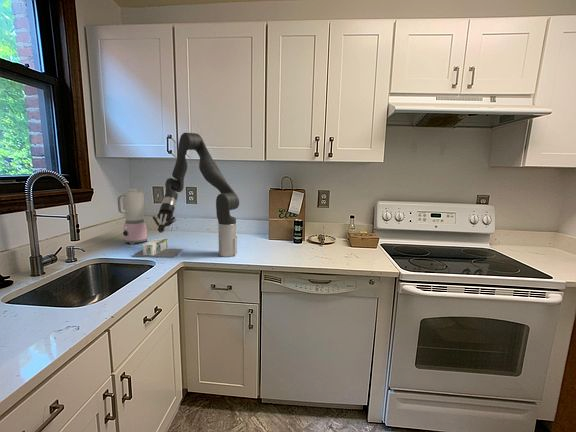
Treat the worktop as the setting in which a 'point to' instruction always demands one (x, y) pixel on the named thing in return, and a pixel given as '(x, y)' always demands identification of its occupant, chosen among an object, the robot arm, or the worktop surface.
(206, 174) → the robot arm
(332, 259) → the worktop surface
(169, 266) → the worktop surface
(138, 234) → the blender
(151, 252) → the syrup box
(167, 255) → the slate mat
